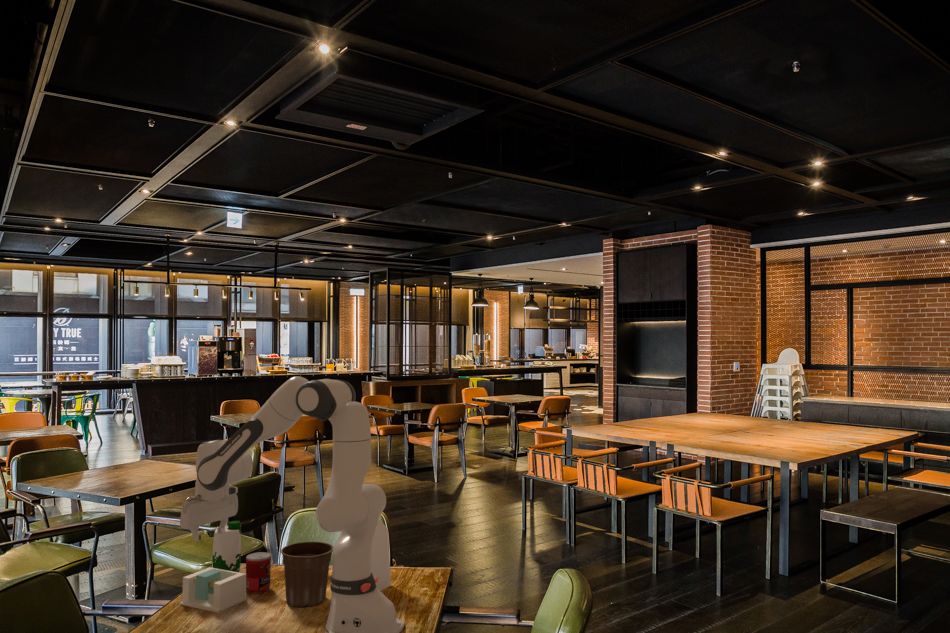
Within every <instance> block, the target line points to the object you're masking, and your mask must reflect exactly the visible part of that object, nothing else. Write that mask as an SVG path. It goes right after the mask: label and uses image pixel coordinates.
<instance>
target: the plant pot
mask: <svg viewBox="0 0 950 633" xmlns="http://www.w3.org/2000/svg"><path fill="white" fill-rule="evenodd" d="M333 548H334V545H332V544H330V543H328V542H324V541H303V542H302V541H300V542H294V543H291V544H288V545H285V546H284V547H282V548H281V550H280V554H281V555H282V564H283V567H284V568H283V569H284V584H285V602H286V603H287V605H289V606H292V607H295V608H304V607H305V606H309V607H313V606H317V605H320V604H321V603H323V602H324V601H325V600H326V598H327V588H328V579H329V570H330V563H331V561H332V556H333Z"/></svg>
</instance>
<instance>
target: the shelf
mask: <svg viewBox="0 0 950 633" xmlns="http://www.w3.org/2000/svg"><path fill="white" fill-rule="evenodd" d="M211 569H212V570H217V571H221V581H218V580H214V581H211V582H209V583H208V586H209V587H214V594H209V593H208V599H207V600H200V599H196V598H195V597H196V575H198V574H201V573H203V572H206V571H209V570H211ZM246 596H247V591H246V573H245V572H243V573H242V572H240V571H239V572H233V571H228V570H222V569H217V568H212V566H209V567H207V568H204V569H201V570H199V571H197V572H194V573H191V574H188V575H186V576H185V575H184V576H182V600H181V601H179V605H181V606H184V607H189V608H195V609H200V610H204V611H208V612H213V613H216V614H218V613H221V612H223V611H225V610H227V609H228V608H229V609H230V608H231V607H233V606H235V605H238V604H240V603H241V602H244V601H245V600H246V599H247V598H246Z"/></svg>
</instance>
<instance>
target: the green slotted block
mask: <svg viewBox="0 0 950 633" xmlns="http://www.w3.org/2000/svg"><path fill="white" fill-rule="evenodd" d="M214 580H218V581H221V571H217V570H212V569H211V570H209V571H206V572H203V573H201V574H198V575H196V597H195V598H196V599H200V600H207V599H208V593H209V594H214V587H209V586H208V583H209V582H211V581H214Z"/></svg>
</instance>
